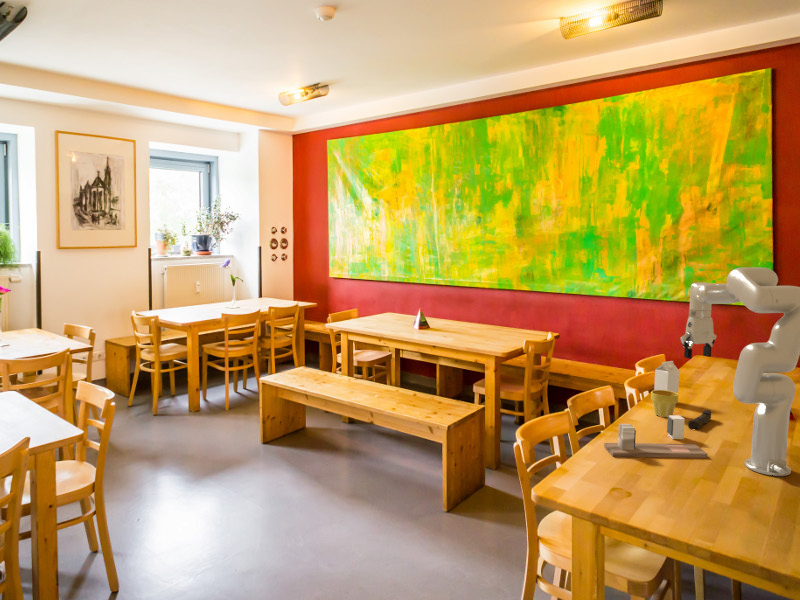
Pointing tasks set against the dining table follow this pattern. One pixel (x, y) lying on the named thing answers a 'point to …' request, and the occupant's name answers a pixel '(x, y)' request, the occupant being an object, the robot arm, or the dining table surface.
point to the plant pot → (664, 402)
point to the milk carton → (667, 377)
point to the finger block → (675, 426)
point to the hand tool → (700, 420)
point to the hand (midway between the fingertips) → (697, 357)
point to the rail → (649, 447)
